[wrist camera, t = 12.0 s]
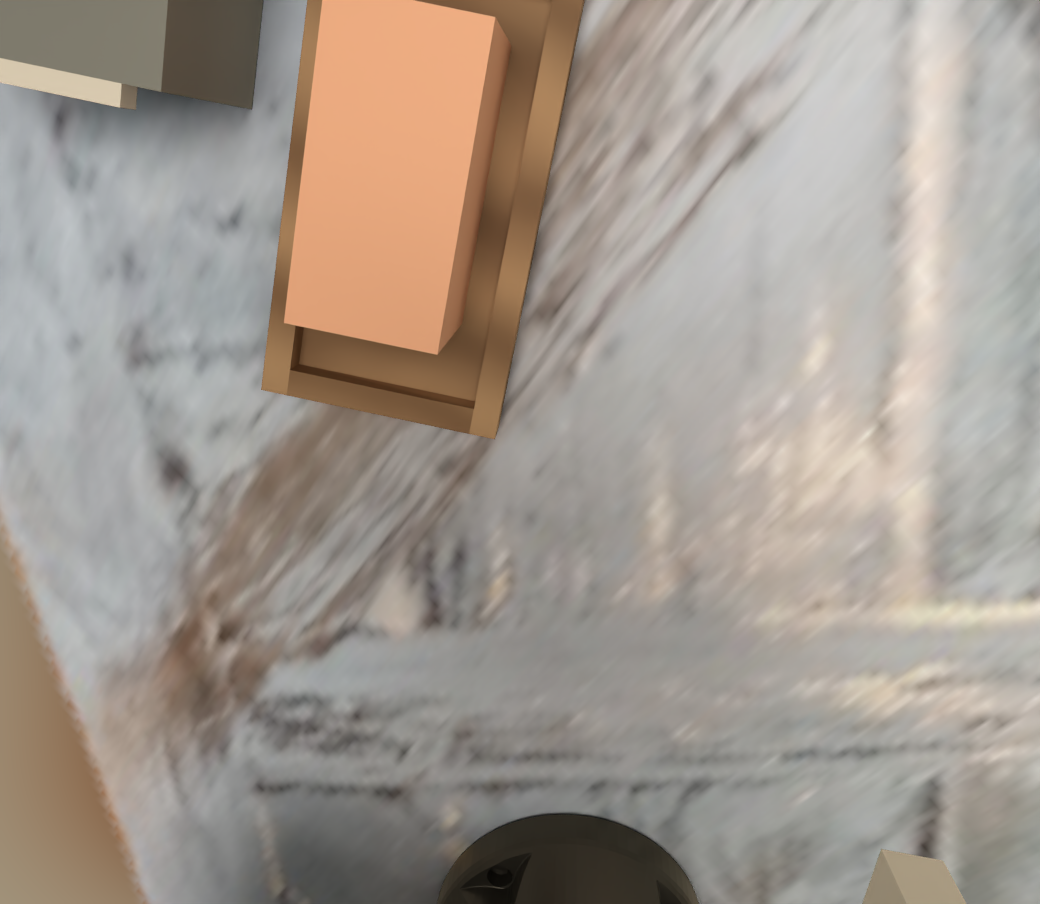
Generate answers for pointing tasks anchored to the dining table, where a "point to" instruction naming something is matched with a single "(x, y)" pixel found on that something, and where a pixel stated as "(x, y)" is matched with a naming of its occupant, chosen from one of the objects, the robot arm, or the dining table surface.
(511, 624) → the dining table surface
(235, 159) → the dining table surface
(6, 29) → the dispenser
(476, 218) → the peach rectangular brick
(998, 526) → the dining table surface
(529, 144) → the tray
